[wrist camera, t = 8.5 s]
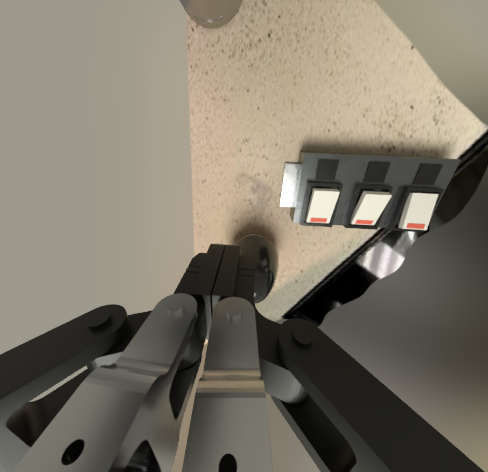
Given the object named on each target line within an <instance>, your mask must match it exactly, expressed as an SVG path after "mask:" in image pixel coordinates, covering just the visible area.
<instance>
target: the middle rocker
mask: <svg viewBox="0 0 488 472" xmlns="http://www.w3.org/2000/svg"><path fill="white" fill-rule="evenodd" d="M391 196H392V195H391V194H390V193H389V192H374V191H363V193H362V195H361V197H360V199H359V202H358V204H357V206H356V208H355V210H354V212H353V214H352V217H351V221H350V223H351V224H360V225H375V223H376V221H377V220H378V218H379V216H380V215H381V213H382V211H383V210H384V208H385V206H386V205H387V203H388V201H389V200H390V198H391Z"/></svg>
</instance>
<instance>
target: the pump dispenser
mask: <svg viewBox="0 0 488 472" xmlns="http://www.w3.org/2000/svg"><path fill="white" fill-rule="evenodd" d="M233 245H241V255H244V256H251V257H252V259H253V260H254V262H255V281H254V304H255V303H259V302H261V301H263V300H264V299H265V298H266V297H267V296H268V295H269V293H270V292H271V290H272V288H273V286H274V283H275V280H276V277H277V272H278V265H279V256H278V251H277V248H276V247H275V245H274V244H273V243H272V242H271V241H270V240H269V239H267V238H265V237H263V236H261V235H257V234H250V235H246V236H244V237H242V238H240V239H238V240H237V241H236V242H235V243H234V244H233Z"/></svg>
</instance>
